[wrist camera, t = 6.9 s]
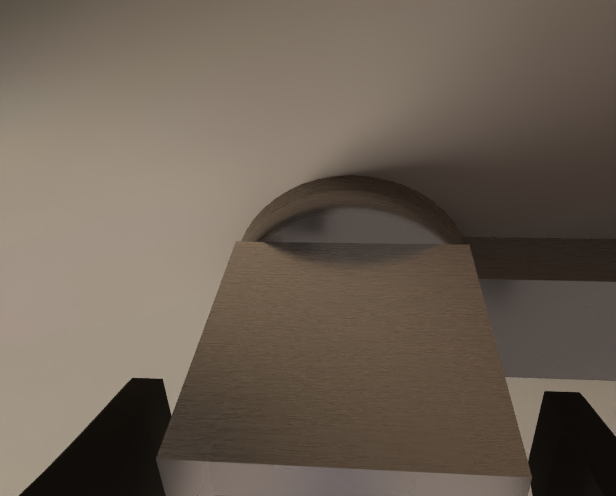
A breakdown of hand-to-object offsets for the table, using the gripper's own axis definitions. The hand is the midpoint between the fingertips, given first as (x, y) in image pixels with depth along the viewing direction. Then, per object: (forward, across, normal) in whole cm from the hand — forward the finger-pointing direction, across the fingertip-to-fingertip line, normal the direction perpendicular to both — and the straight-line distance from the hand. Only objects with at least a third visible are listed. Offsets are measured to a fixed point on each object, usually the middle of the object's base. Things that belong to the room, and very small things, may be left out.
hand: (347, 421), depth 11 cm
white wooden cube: (+2, 0, 0) cm, 3 cm away
